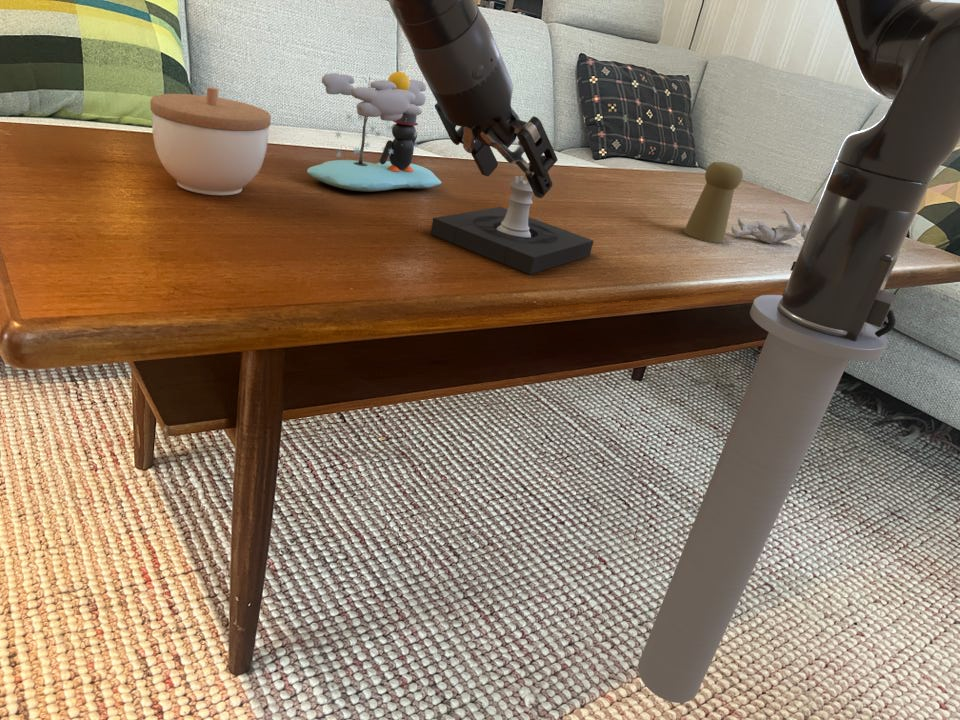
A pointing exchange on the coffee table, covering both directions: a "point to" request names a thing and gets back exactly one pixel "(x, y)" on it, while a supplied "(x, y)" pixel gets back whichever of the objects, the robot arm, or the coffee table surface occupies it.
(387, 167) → the penguin figurine
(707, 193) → the brown game pawn
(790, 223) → the soldier figure
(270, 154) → the coffee table surface
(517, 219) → the rook chess piece
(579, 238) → the pad
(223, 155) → the lidded bowl
